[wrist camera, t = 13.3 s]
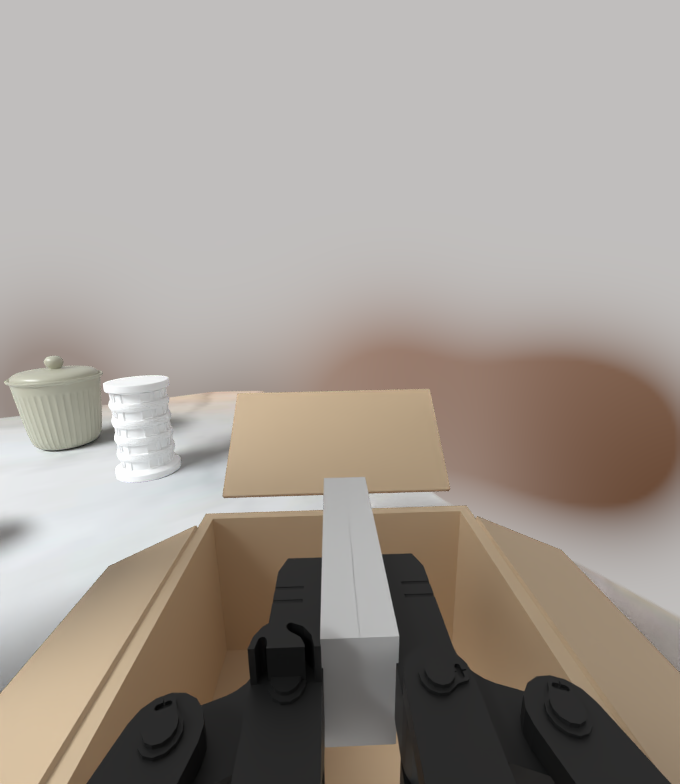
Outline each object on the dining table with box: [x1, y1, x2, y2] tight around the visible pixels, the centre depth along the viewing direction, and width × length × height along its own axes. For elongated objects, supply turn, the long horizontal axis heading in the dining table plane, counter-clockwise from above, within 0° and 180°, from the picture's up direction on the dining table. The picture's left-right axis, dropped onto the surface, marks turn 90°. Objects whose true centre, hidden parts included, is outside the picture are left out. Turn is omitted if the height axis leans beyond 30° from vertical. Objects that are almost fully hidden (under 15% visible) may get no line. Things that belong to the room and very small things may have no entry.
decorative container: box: [103, 375, 181, 483], centre depth 70 cm, size 12×12×18 cm
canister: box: [4, 356, 103, 450], centre depth 85 cm, size 18×18×21 cm
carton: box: [0, 506, 680, 784], centre depth 20 cm, size 26×37×14 cm
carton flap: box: [223, 389, 450, 498], centre depth 34 cm, size 1×20×10 cm
